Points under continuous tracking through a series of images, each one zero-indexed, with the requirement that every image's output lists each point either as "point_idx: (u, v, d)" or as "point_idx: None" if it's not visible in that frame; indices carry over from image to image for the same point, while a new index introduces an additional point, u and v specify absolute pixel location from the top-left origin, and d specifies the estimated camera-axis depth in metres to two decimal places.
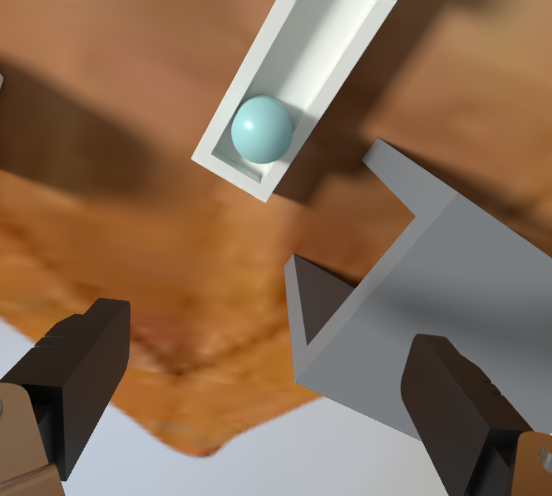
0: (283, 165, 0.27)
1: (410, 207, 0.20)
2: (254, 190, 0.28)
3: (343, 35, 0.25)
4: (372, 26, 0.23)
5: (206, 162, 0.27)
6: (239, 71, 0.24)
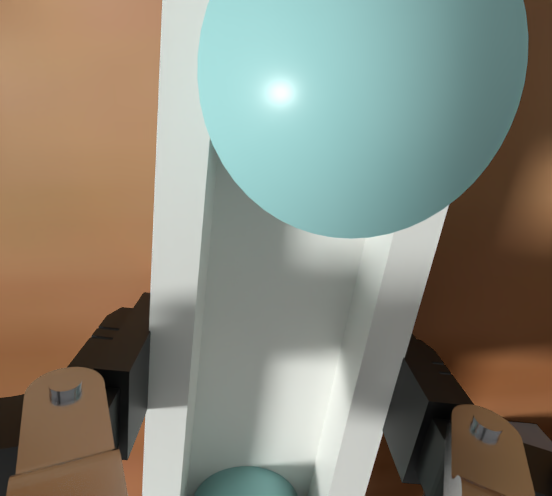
0: None
1: None
2: None
3: (332, 320, 0.11)
4: (397, 324, 0.09)
5: None
6: None
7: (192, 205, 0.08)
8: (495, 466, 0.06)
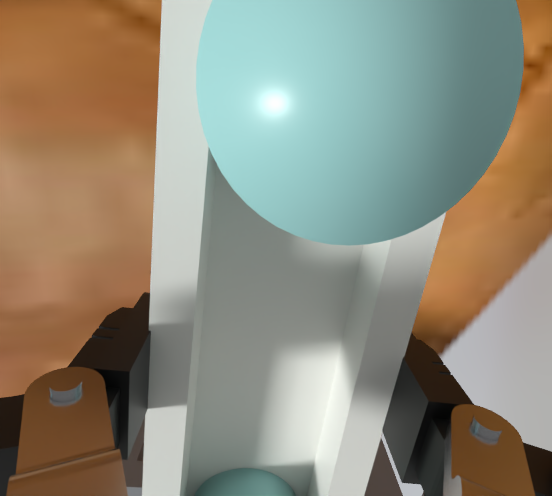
0: None
1: None
2: None
3: (331, 324, 0.11)
4: (395, 327, 0.09)
5: None
6: None
7: (191, 209, 0.08)
8: (495, 466, 0.06)
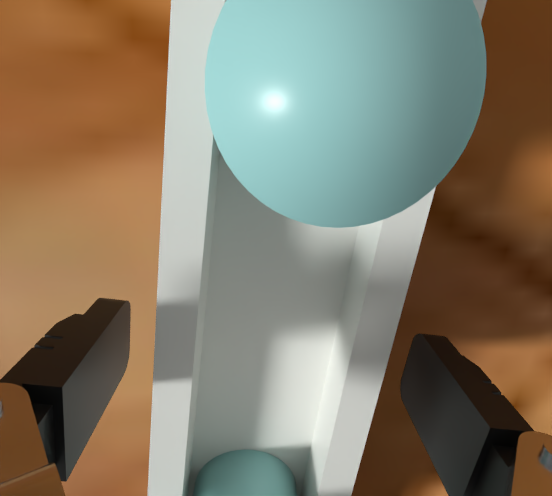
0: None
1: None
2: None
3: (327, 311, 0.12)
4: (385, 311, 0.10)
5: None
6: (151, 486, 0.11)
7: (196, 201, 0.09)
8: None
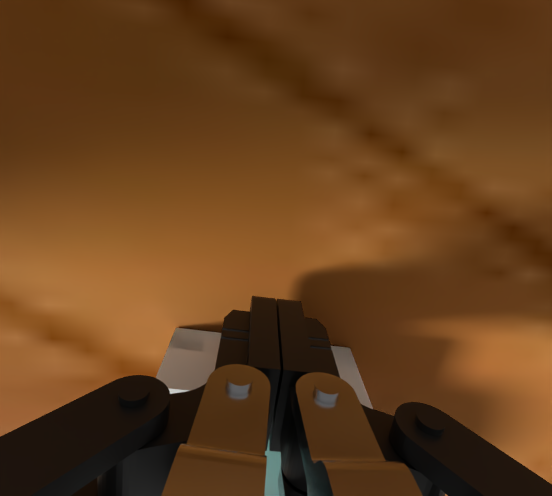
0: None
1: None
2: None
3: None
4: None
5: None
6: None
7: None
8: (314, 425, 0.07)
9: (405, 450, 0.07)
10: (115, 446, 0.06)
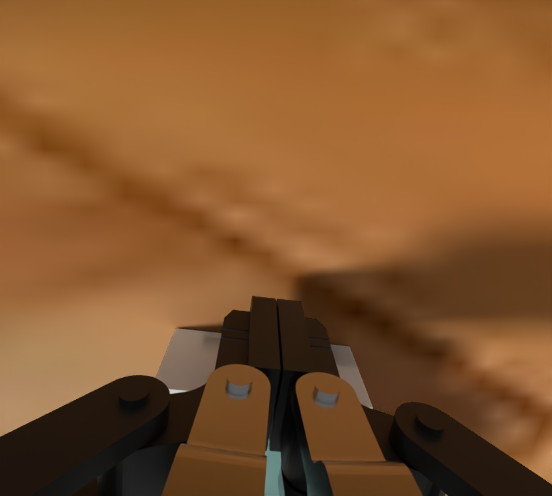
0: None
1: None
2: None
3: None
4: None
5: None
6: None
7: None
8: (314, 424, 0.07)
9: (405, 450, 0.07)
10: (115, 446, 0.06)
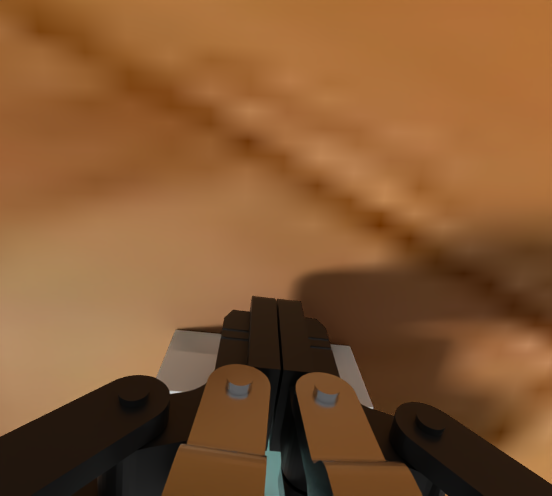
0: None
1: None
2: None
3: None
4: None
5: None
6: None
7: None
8: (314, 424, 0.07)
9: (405, 450, 0.07)
10: (115, 447, 0.06)
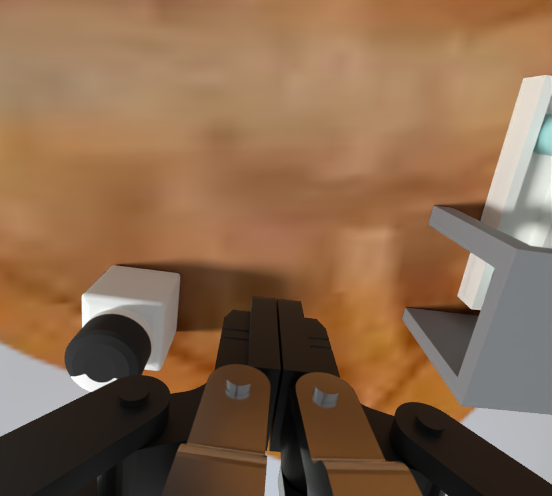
0: None
1: (488, 262, 0.29)
2: None
3: (542, 196, 0.38)
4: None
5: (481, 306, 0.39)
6: None
7: (527, 159, 0.35)
8: (314, 425, 0.07)
9: (405, 450, 0.07)
10: (115, 447, 0.06)
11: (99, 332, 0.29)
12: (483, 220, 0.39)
